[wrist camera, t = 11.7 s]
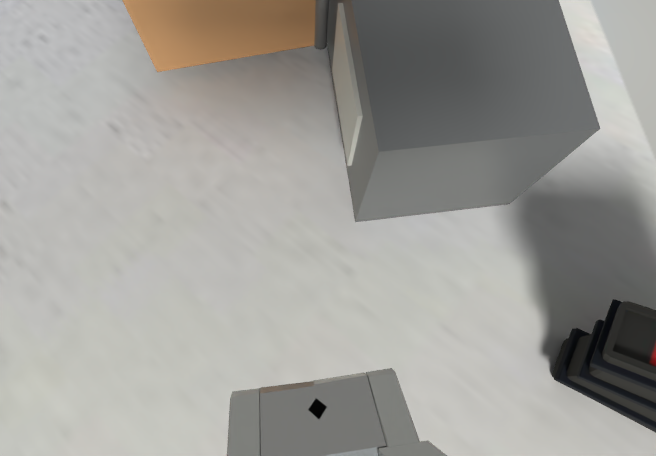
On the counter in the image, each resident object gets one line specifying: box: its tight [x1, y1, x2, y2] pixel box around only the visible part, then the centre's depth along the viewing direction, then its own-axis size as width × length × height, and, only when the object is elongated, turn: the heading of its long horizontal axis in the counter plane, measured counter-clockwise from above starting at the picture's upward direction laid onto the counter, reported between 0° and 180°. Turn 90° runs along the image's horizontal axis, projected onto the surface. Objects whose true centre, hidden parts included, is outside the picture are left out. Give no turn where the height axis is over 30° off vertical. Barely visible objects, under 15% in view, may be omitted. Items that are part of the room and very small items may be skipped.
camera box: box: [327, 0, 600, 222], centre depth 34 cm, size 12×18×12 cm
